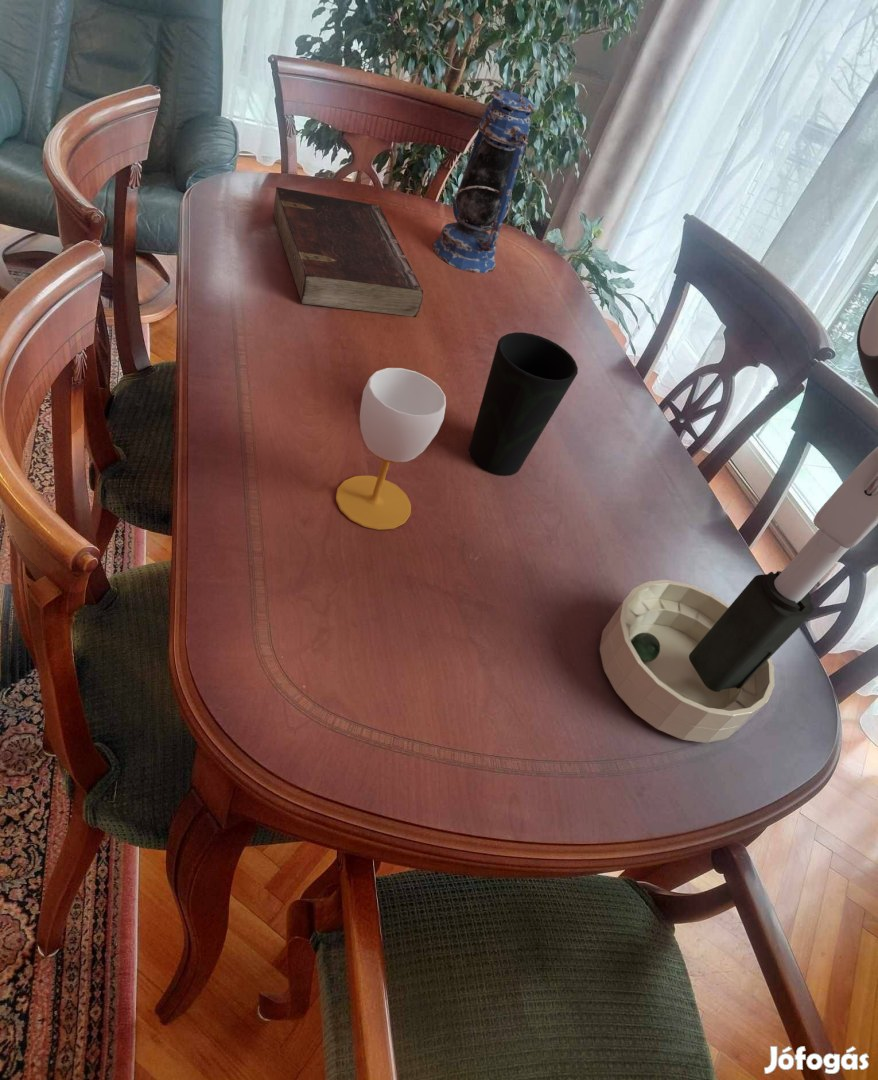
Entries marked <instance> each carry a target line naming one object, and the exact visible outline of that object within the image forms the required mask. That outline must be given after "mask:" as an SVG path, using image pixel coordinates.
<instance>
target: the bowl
mask: <svg viewBox="0 0 878 1080" xmlns="http://www.w3.org/2000/svg"><path fill="white" fill-rule="evenodd" d="M730 605H731V604H730ZM730 605H729V604H728V603H727V602H726V601H725V600H722V599H721V598H719V597H718V596H716V595H715V594H713V593H711V592H709V591H707V590H705V589H702V588H700V587H697V586H695V585H692V584H690V583H686V582H681V581H675V580H671V579H660V580H648V581H645V582H643V583H641V584H640V585H637V586H635V587H634V588H632V589H631V590H630V592H629V593H628V594H627V595H626V596H625V597H624V599H623V600H622V602H621V603H620V605H619V606H618V607H617V609H616V611H615V613H614V614H613V615H612V617H610V619H609V621H608V622H607V624H606V626H605V627H604V628H603V630H602V631H601V638H600V644H599V653H600V659H601V663H602V668H603V671H604V673H605V675H606V677H607V679H608V680H609V683H610V684H611V686H612V688H613V690H614V691H615V693H616V694H617V696H619V698H620V699H621V700H622V701H623V702H624V703H625V704H626V706H628V708H629V709H630V710H631V711H632V712H633V713H634V714H635V715H636V716H638V717H640V718H641V719H642V720H644V721H645V722H646V723H647V724H649V725H650V726H652V727H653V728H654V729H656V730H658V731H660V732H663V733H665V734H667V735H670V736H672V737H675V738H677V739H680V740H682V741H690V742H695V743H703V744H708V743H714V742H718V741H724V740H727V739H728V738H730V737H731V736H733V734H735V733H736V732H738V731H739V730H740V729H742V727H744V725H745V724H747V722H749V720H751V719H752V718H753V717H754V716H755V715H756V714H757V713H758V712H759V711H760V710H761V709H762V708H763V707H764V706H765V705H766V704H767V703H768V702H769V700H770V697H771V696H772V693H773V691H774V688H775V667H774V663H773V661H772V658H771V657H770V658H769V659H768V660H767V661H766V662H765V663H764V664H763V665H762V666H761V667H760V668H759V669H758V670H757V672H756V673H755V674H754V675H753V676H752V677H751V678H750V679H749V680H748V681H747V682H746V683H745V684H744V685H743V686H742V687H741V688H739V689H737V688H736V687H735V688H729V689H723V690H721V691H720V692H715V691H712V690H710V689H708V688H707V687H706V686H705V684H704V683H703V681H702V680H701V678H700V676H699V675H698V673H697V672H696V670H695V668H694V667H693V665H692V664H691V662H690V660H689V655H690V653H691V652H692V651H693V649H694V648H695V647H696V646H697V645H698V643H699V642H700V641H701V640H702V639H703V638H704V636H705V635H706V634H707V633H708V632H709V630H710V629H711V628H712V627H713V626H714V624H715V623H716V622H717V621H718V620H719V619H720V617H721V616H722V615H723V614H724V613H725V611H726V610H727V609H728V608H729V607H730ZM644 632H645V633H650V634H652V635H654V636H655V637H656V638H657V639H658V641H659V643H660V653H659V655H658V656H657V658H656V659H655V660H653V661H651V662H642V661H641V659H640V657H639V655H638V654H637V652H636V650H635V648H634V647H633V645H632V643H631V640H632V638H633V637H634V636H635V635H637V634H639V633H644Z"/></svg>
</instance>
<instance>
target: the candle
mask: <svg viewBox="0 0 878 1080" xmlns="http://www.w3.org/2000/svg"><path fill="white" fill-rule="evenodd" d="M822 533H823V532H822V531H821V530H819V529H818V530H817V531H816V532H815V533H814V534H813V535H812V536H811V537H810V539H809V540H808V541H807V543H805V545H804V546H803V547H802V548H801V549H800V551H798V553H797V554H796V555H795V556H794V557H793V558H792V559H791V561H790V562H789V563H788V564H787V565H786V567H784V568H783V570H782V571H781V570H777V571H776V572H775V573H774V572H773V571H770V572H768V573H765V574H757V575H755V576H754V577H753V578H752V579H751V580H750V582H749V583H748V584H747V585H746V586H745V588H744V589H743V590H742V591H741V592H740V593H739V595H738V596H737V597H736V598H735V599H734V601H733V602H732V603H731V604H730V607H729V608H728V609H727V610H726V611H725V613H724V614H723V615H722V616H721V617H720V619H719V620H718V621H717V622H716V623H715V624H714V626H713V627H712V628H711V629H710V630H709V632H708V633H707V634H706V635H705V636H704V638H703V639H702V640H701V641H700V642H699V643H698V645H697V646H696V647H695V648H694V649H693V651H692V652H691V653H690V655H689V660H690V662H691V664H692V665H693V667H694V668H695V670H696V672H697V673H698V675H699V676H700V678H701V680H702V681H703V683H704V684H705V686H706V687H707V688H708V689H710V690H712V691H715V692H720V691H721V690H723V689H729V688H735V687H736V688H737V689H739V688H741V687H742V686H743V685H744V684H745V683H746V682H747V681H748V680H749V679H750V678H751V677H752V676H753V675H754V674H755V673H756V672H757V670H758V669H759V668H760V667H761V666H762V665H763V664H764V663H765V662H766V661H767V660H768V659H769V658H771V657H772V656H773V655H774V654H775V653H776V652H777V651H778V650H779V649H780V648H781V647H782V646H783V645H784V644H785V642H787V640H789V638H791V636H792V635H793V634H794V633H795V632H796V631H797V630H798V629H799V628H800V627H802V625H803V624H804V623H805V622H806V621H807V620H808V619H809V618H810V617H811V616H812V614H814V612H815V607H814V604H813V603H812V597H811V594H810V591H812V589H813V588H814V587H815V586H816V585H817V584H818V583H819V582H820V580H821V579H822V578H824V576H825V575H826V574H827V573H828V572H829V571H830V570H831V568H833V566H834V565H836V564H837V562H838V561H839V560H840V559H841V558H842V557H843V556H844V555H845V554H846V553H847V552H848V550H849V549H850V548H845V547H843V546H841V547H840V548H839V549H838V550H837V551H836V552H835V553H830V552H828V551H827V550H825V549H824V548H823V547H821V546H820V545H819V544H818V542H817V541H818V538H819V537H820V536H821V535H822Z"/></svg>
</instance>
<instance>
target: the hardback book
mask: <svg viewBox="0 0 878 1080" xmlns="http://www.w3.org/2000/svg"><path fill="white" fill-rule="evenodd" d="M272 215H273V218H274V221H275V224H276V227H277V230H278V233H279V236H280V237H279V238H280V239H281V244H282V246H283V249H284V252H285V255H286V258H287V261H288V264H289V267H290V270H291V275H292V277H293V280H294V283H295V286H296V289H297V292H298V296H299V299H300V301H301V304H304V305H313V306H320V307H329V308H337V309H346V310H355V311H362V312H370V313H371V312H372V313H378V314H387V315H396V316H403V317H410V318H411V317H412V318H417V316H418V313H419V312H420V309H421V306H422V302H423V299H424V290H423V288H422V286H421V284H420V282H419V280H418V279H417V277H416V275H415V272H414V271H413V269H412V267H411V265H410V262H409V260H408V259H407V257H406V255H405V253H404V251H403V249H402V247H401V245H400V243H399V241H398V239H397V237H396V235H395V233H394V231H393V230H392V227H391V225H390V224H389V222H388V220H387V218H386V216H385V214H384V212H383V210H382V208H381V205H379V204H373V203H367V202H361V201H357V200H350V199H346V198H339V197H334V196H329V195H323V194H317V193H313V192H306V191H301V190H295V189H289V188H283V187H279V186H276V188H275V195H274V203H273V211H272Z"/></svg>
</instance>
